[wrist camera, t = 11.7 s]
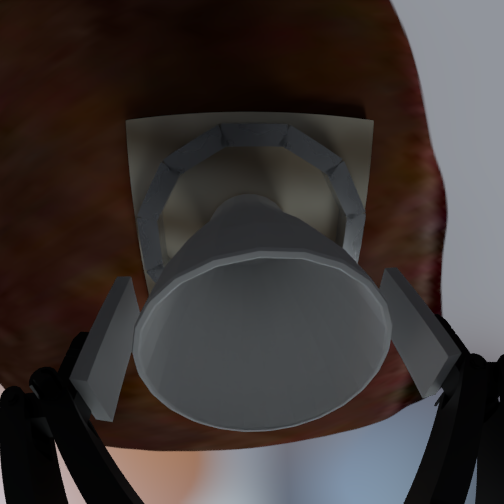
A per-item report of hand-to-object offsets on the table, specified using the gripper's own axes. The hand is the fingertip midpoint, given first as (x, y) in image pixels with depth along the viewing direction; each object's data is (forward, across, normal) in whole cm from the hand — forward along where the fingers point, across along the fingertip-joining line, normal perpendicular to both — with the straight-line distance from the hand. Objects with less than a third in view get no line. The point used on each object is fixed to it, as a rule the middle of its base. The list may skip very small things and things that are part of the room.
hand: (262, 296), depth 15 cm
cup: (+9, 0, 0) cm, 9 cm away
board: (+10, 0, -1) cm, 10 cm away
